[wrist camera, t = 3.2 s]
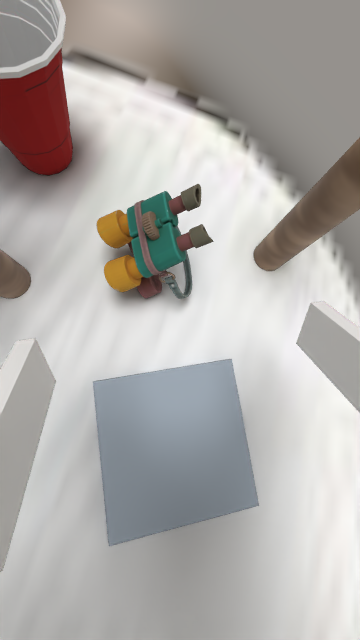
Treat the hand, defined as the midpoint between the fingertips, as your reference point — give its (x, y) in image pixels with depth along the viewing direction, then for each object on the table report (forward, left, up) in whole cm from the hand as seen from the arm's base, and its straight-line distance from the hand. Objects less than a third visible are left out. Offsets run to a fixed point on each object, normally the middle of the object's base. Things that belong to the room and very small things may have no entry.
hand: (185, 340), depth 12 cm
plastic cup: (-26, -1, -13) cm, 29 cm away
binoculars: (-9, +3, -14) cm, 16 cm away
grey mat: (+8, -3, -13) cm, 16 cm away
